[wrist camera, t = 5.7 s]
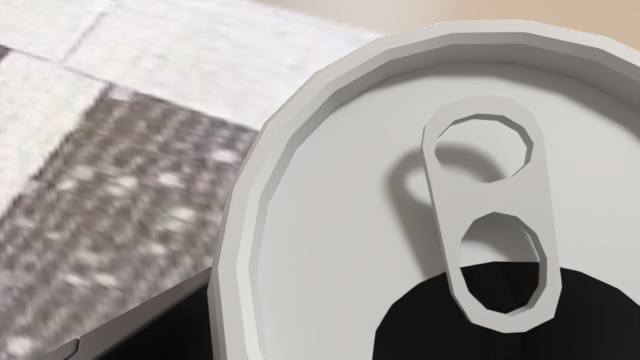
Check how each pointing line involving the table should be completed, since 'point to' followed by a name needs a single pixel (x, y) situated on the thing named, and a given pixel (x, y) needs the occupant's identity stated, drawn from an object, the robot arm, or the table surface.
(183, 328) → the robot arm
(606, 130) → the can
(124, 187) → the table surface
